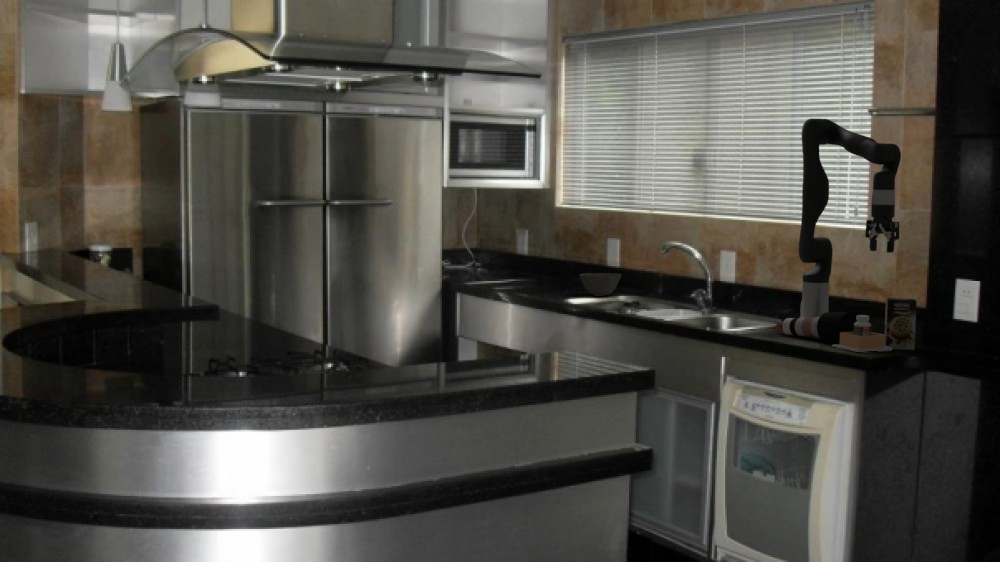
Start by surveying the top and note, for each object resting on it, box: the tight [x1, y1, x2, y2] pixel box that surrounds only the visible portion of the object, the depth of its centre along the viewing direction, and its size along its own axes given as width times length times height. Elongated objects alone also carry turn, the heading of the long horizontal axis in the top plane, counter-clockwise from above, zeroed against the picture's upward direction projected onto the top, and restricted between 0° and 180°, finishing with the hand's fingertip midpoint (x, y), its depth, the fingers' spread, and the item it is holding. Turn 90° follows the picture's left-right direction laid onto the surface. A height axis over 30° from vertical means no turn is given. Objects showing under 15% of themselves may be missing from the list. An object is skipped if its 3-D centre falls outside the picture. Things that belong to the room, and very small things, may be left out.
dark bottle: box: [775, 311, 858, 343], centre depth 410 cm, size 10×34×10 cm, turn 28°
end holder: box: [832, 331, 893, 353], centre depth 387 cm, size 12×14×5 cm
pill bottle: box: [854, 314, 872, 336], centre depth 387 cm, size 5×5×10 cm
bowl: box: [579, 272, 622, 296], centre depth 541 cm, size 19×19×10 cm
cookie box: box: [883, 297, 918, 351], centre depth 389 cm, size 9×6×16 cm
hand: (881, 251), depth 404 cm, fingers open, 8 cm apart
